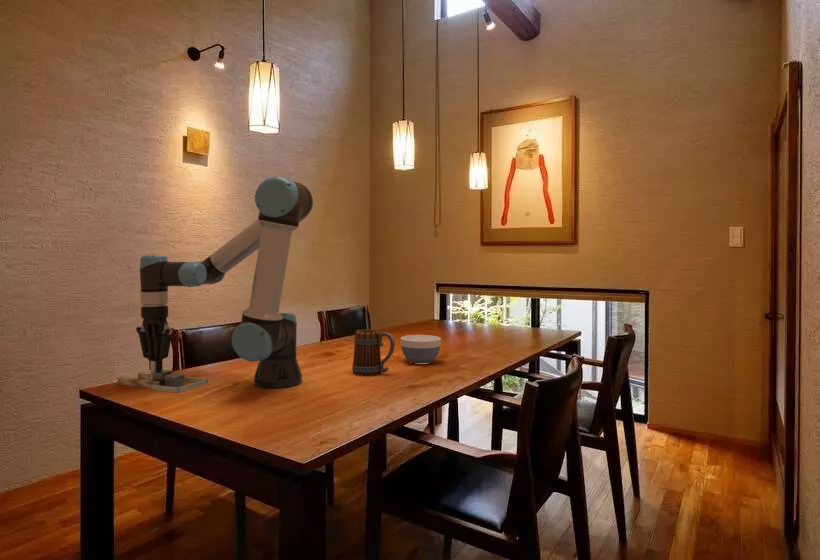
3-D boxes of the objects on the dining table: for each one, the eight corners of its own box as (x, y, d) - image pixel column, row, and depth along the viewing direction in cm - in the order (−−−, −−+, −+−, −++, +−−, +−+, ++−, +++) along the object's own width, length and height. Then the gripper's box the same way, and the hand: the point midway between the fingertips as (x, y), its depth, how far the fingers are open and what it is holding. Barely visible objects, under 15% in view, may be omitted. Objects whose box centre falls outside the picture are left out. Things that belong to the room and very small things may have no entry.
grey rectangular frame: (207, 387, 156) (207, 378, 156) (178, 397, 145) (178, 388, 144) (182, 384, 159) (182, 376, 159) (151, 394, 148) (151, 385, 148)
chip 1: (173, 383, 155) (172, 370, 155) (162, 386, 151) (162, 373, 151) (163, 382, 156) (162, 369, 156) (152, 385, 153) (152, 372, 153)
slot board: (178, 386, 158) (178, 375, 158) (155, 393, 149) (155, 382, 149) (141, 381, 163) (141, 371, 162) (117, 388, 154) (117, 378, 154)
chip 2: (183, 387, 154) (184, 374, 154) (173, 390, 150) (174, 377, 150) (173, 384, 155) (174, 372, 155) (163, 387, 152) (164, 375, 151)
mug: (346, 374, 175) (346, 332, 174) (360, 368, 185) (361, 328, 184) (387, 378, 169) (387, 335, 168) (399, 372, 179) (399, 330, 178)
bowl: (398, 358, 204) (398, 334, 203) (437, 357, 205) (437, 334, 205) (402, 366, 188) (402, 341, 187) (444, 366, 190) (444, 341, 189)
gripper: (180, 304, 155) (182, 379, 156) (148, 303, 159) (149, 376, 160) (161, 307, 148) (163, 385, 149) (128, 305, 152) (129, 382, 153)
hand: (156, 380), depth 155 cm, fingers closed
